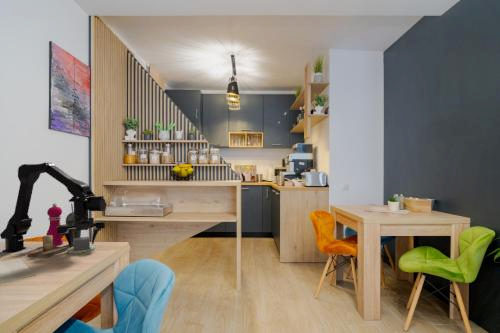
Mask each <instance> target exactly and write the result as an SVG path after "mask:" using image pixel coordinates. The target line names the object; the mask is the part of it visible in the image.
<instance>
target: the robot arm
mask: <svg viewBox="0 0 500 333" xmlns="http://www.w3.org/2000/svg"><path fill="white" fill-rule="evenodd" d="M18 166H19V167H18V169H17V178H18V180H19V183H20V184H19V188H18V193H17V199H16V202H15V203H16V204H15V208H14V212H13V215H11V217H10V218H9V219H8V221H7V224H6V227H5V228H4V229H3V231H1V233H0V238H1V239H2V240H5V243H4V244H5V246H4V247H5V249H2V250H1V252H3V253H4V252H7V253H14V252H17V251H18V252H19V251H22V250H24V249H27V246H24V245H25V243H24V242H25V241H24V240H25V239H24V235H25V236H26V235H27V233H28V231H29V230H30V228H31V227H32V221H33V218H32V217H30V216H29V209H30V206H31V205H30V204H31V200H32V194H33V191H34V185H35V184H36V182H37V181H38V180H39V178H40V175H41V174H45V173H46V174H48V175H49V176H50V177H51V178H53V179H54V180H56V181H57V182H59V184H61V185H63V186H65V188H66V189H67V192H69V193H70V194H71V198H70V199H68V202H69V203H70V202H71V203H73V212H74V226H67V224H66V223H65V224H60V225H58V226H57V234H59V233H61V235H64V237H65V239H66V241H67V243H68V246H69V249H71V248H72V245H71V241H70V236H69V230H75V229H76V230H77V231H80V230H81V231H88V230H89V229H91V228H92V234H91V245H94V243H95V241H96V237H97V234H98V233H99V232H101V231H102V229H106V223H105V221H103V220H96V221H95V219H94V217H89V212H104V211H105V210H106V208H107V202H106V199H105V197H104V196H103V195H99V196H96V194H95V193H94V192H93V191H92V189H91V187H90V184H88V183H85V182H84V181H81V180H78V179H76V178H74V177H72V176H70V175H69V174H68V173H67V172H65V171H64V170H62V169H61V168H59V167H58V166H56V165H55V163H53V162H43V163H28V164H27V163H23V164H21V165H18Z"/></svg>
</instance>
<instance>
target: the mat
mask: <svg viewBox="0 0 500 333" xmlns="http://www.w3.org/2000/svg"><path fill="white" fill-rule="evenodd" d="M96 248H97V247H96V245H93V244H90V249H87V250H80V251H74V247H71V248H69V249H67V253H69V254H83V253H82V252H84V253H89V252H91V251H94V250H95V249H96Z"/></svg>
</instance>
